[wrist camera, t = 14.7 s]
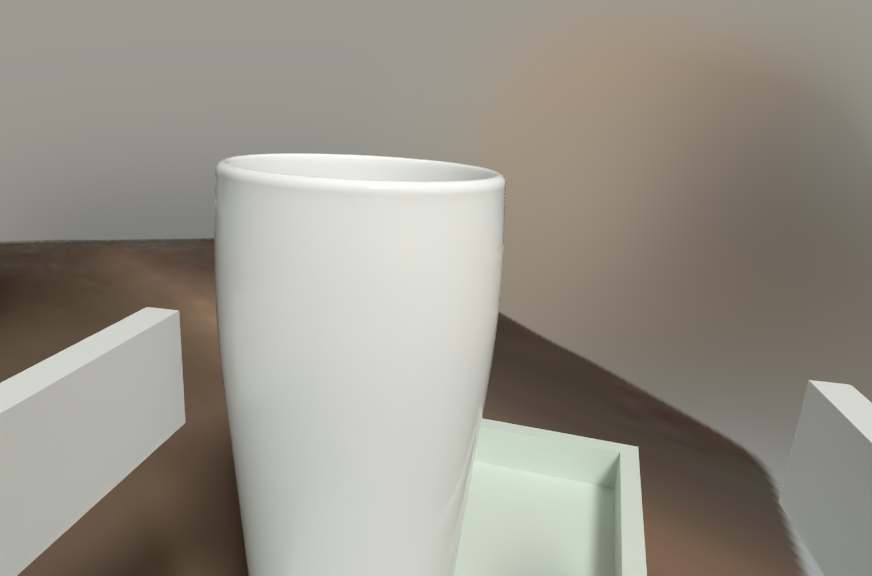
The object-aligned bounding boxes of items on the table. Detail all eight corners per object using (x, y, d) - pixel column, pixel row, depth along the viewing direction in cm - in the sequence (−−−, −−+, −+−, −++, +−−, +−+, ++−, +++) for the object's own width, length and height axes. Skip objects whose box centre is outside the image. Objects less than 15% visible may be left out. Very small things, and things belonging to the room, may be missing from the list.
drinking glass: (269, 588, 22) (262, 148, 18) (463, 601, 22) (500, 163, 18) (191, 787, 16) (153, 168, 12) (466, 807, 16) (526, 191, 11)
